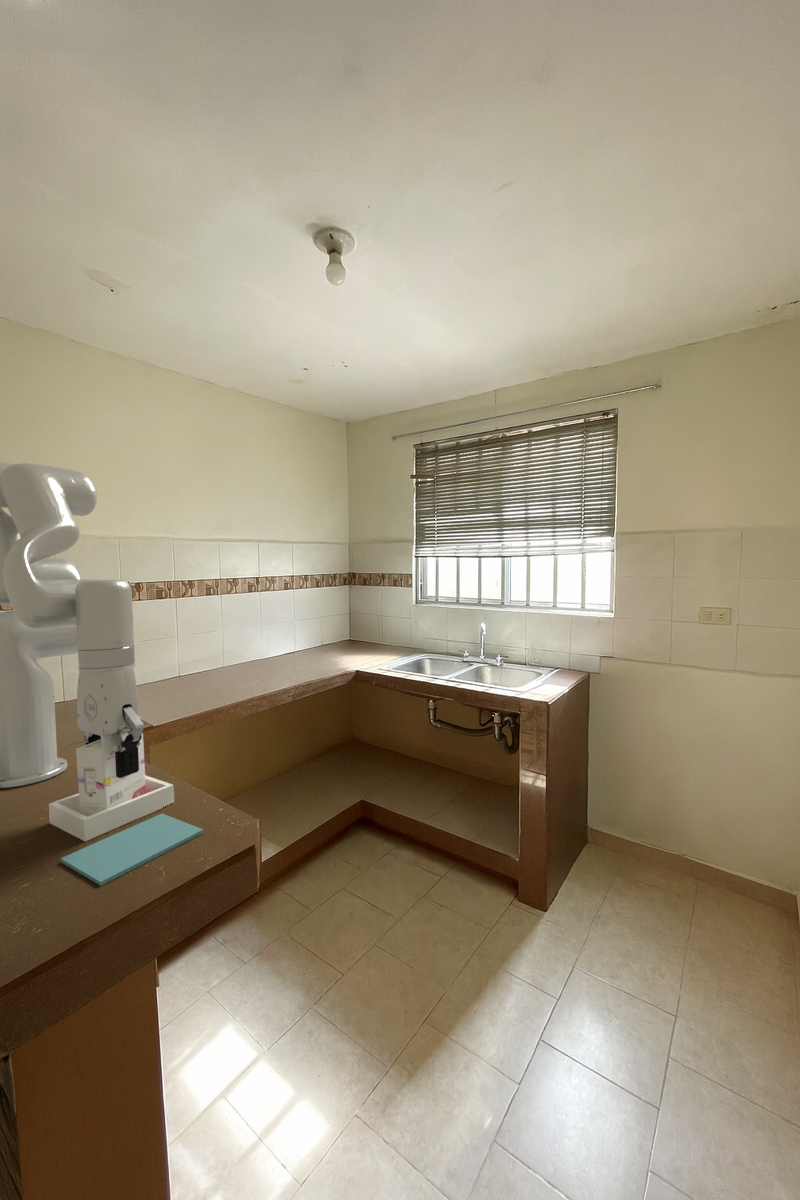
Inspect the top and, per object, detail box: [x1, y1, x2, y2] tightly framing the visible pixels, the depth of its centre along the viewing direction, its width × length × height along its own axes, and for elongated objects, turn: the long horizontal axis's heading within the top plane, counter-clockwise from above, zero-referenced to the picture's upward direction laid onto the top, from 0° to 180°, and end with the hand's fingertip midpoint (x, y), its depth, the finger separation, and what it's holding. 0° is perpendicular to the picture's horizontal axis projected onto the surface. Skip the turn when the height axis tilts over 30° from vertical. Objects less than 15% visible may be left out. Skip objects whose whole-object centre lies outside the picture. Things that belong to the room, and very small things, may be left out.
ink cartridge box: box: [75, 715, 146, 817], centre depth 76 cm, size 9×5×15 cm, turn 168°
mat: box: [60, 813, 204, 887], centre depth 66 cm, size 10×14×1 cm
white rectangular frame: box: [48, 774, 175, 842], centre depth 77 cm, size 11×14×3 cm
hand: (112, 768), depth 76 cm, fingers open, 8 cm apart
